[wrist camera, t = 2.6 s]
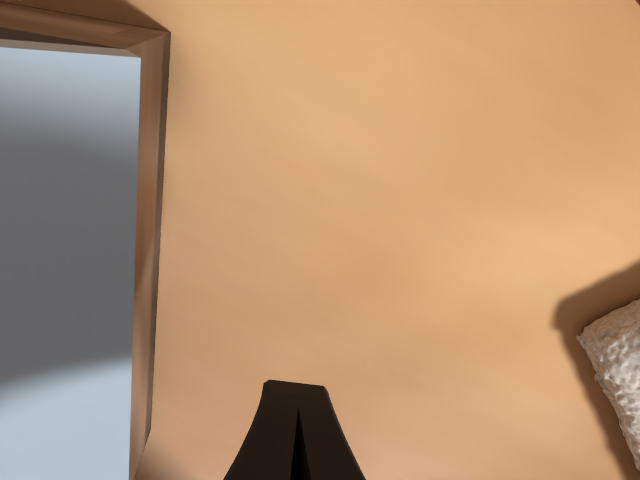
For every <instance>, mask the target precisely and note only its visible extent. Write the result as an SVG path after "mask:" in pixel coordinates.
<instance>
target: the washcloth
mask: <svg viewBox="0 0 640 480" xmlns="http://www.w3.org/2000/svg"><path fill="white" fill-rule="evenodd" d="M580 334H581V336H576V338H577V341H578V342H579V343H580V344H581V346H582V348H583V349H585V350H586V354H587V356H588V358H589V359H590V360H591V362H592V366H593V369H594V370H595V372H596V374H595V375H594V380H595V381H596V382H598V383H599V384H600V386H601V387H602V388H603V389H602V390H603V393H604V394H605V395H606V397H607V398H608V399H609V400H610V403H611V404H612V406H613V408H614V410H615V412H616V414H617V416H618V419H619V426H620V428H621V429H622V433H623V437H625V438H626V443H627V446H628V448H629V449H630V451H631V453H632V454H633V456H634V458H633V461H634V462H635V465H636V468H637V469H638V470H639V471H640V298H639V299H638V300H635V301H632V302H631V303H630V304H628V305H627V306H624V307H620V308H618V309H615V310H613V311H611V312H610V313H608V314H607V315H605V316H603V317H601V318H599V319H597V320H595V321H593V322H592V323H591V324H590V325H589V326H586V327H584V330H583V333H580Z"/></svg>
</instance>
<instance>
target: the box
mask: <svg viewBox="0 0 640 480" xmlns="http://www.w3.org/2000/svg"><path fill="white" fill-rule="evenodd" d="M170 38H171V32H167V31H161V30H156V29H150V28H145V27H139V26H134V25H128V24H122V23H117V22H111V21H106V20H100V19H95V18H89V17H83V16H78V15H72V14H67V13H61V12H56V11H50V10H44V9H39V8H33V7H28V6H22V5H17V4H11V3H5V2H0V39H8V40H20V41H32V42H44V43H56V44H68V45H80V46H92V47H104V48H116V49H126V50H128V51H130V52H131V53H133V54H135V55H137V56H138V57H140V58H141V67H140V102H139V136H138V171H137V206H136V241H135V275H134V310H133V345H132V380H131V414H130V449H129V480H134V477H135V474H136V472H137V469H138V466H139V463H140V460H141V457H142V454H143V451H144V448H145V445H146V442H147V439H148V436H149V433H150V430H151V412H152V392H153V372H154V353H155V333H156V313H157V294H158V274H159V254H160V235H161V215H162V195H163V176H164V156H165V136H166V117H167V97H168V77H169V58H170Z"/></svg>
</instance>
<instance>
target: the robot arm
mask: <svg viewBox="0 0 640 480" xmlns="http://www.w3.org/2000/svg"><path fill="white" fill-rule="evenodd" d="M223 480H366V479H365V477H364V475H363V473H362V471H361V469H360V467H359V465H358V463H357V461H356V459H355V457H354V455H353V453H352V451H351V449H350V447H349V445H348V442H347V440H346V438H345V436H344V433H343V431H342V429H341V426H340V424H339V422H338V419H337V417H336V414H335V411H334V409H333V406H332V403H331V400H330V397H329V394H328V391H327V390H326V388H325V387H324V386H319V385H310V384H302V383H293V382H285V381H276V380H268V381H267V382H265V383H264V385H263V391H262V396H261V400H260V403H259V406H258V409H257V412H256V415H255V417H254V420H253V422H252V425H251V427H250V429H249V431H248V433H247V436H246V438H245V440H244V442H243V444H242V446H241V448H240V450H239V452H238V454H237V456H236V458H235V460H234V462H233V463H232V465H231V467H230V469H229V471H228V472H227V474H226V476H225V478H224V479H223Z"/></svg>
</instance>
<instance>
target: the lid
mask: <svg viewBox="0 0 640 480" xmlns="http://www.w3.org/2000/svg"><path fill="white" fill-rule="evenodd" d="M140 67H141V58H140V57H138V56H137V55H135V54H133V53H131V52H130V51H128V50H126V49H116V48H104V47H92V46H80V45H68V44H56V43H44V42H32V41H20V40H8V39H0V480H129V449H130V414H131V380H132V345H133V310H134V275H135V241H136V206H137V171H138V136H139V102H140Z"/></svg>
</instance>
